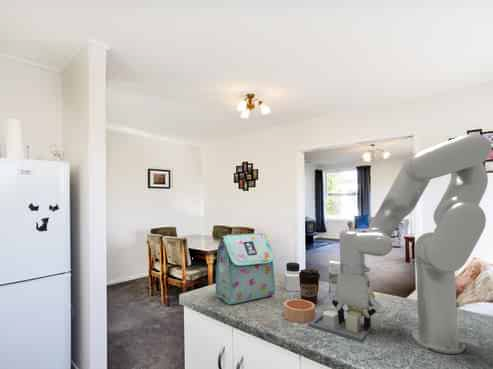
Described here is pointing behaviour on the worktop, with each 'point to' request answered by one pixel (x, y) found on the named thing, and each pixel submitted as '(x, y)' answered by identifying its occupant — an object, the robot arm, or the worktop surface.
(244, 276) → the lunch bag
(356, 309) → the dumbbell
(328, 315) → the grey sharp-edged block
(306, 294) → the coffee cup
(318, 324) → the tray
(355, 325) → the cream cube
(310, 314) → the bowl
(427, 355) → the worktop surface
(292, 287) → the medicine bottle
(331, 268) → the clear bottle
